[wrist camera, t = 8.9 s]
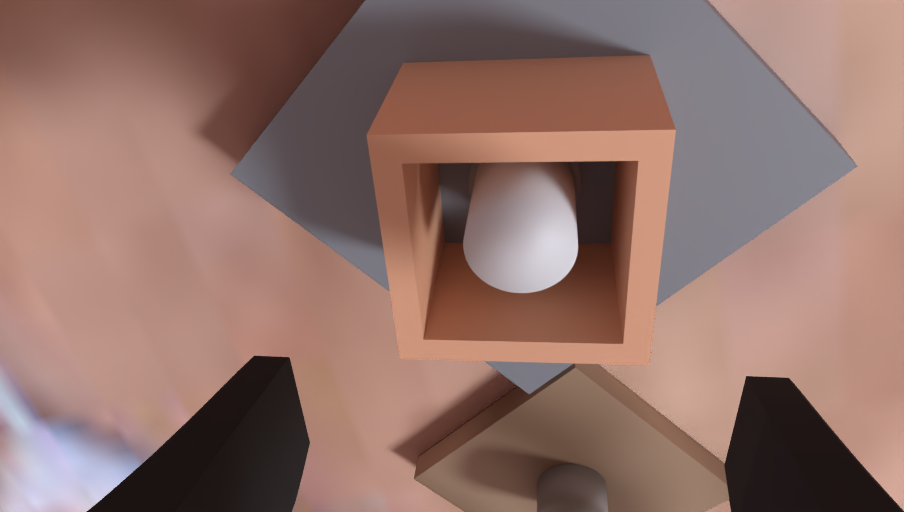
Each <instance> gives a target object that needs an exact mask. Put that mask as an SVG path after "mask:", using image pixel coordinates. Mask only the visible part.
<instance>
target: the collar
mask: <svg viewBox="0 0 904 512" xmlns="http://www.w3.org/2000/svg"><path fill="white" fill-rule="evenodd" d="M675 134H676V128H675V125H674V123H673V120H672V117H671V114H670V111H669V108H668V105H667V102H666V99H665V96H664V94H663V91H662V88H661V85H660V82H659V79H658V76H657V73H656V70H655V68H654V65H653V62H652V59H651V56H650V55H637V56H605V57H573V58H541V59H510V60H478V61H446V62H414V63H403V64H402V66H401V68H400V70H399V72H398V74H397V76H396V78H395V80H394V82H393V84H392V86H391V88H390V90H389V92H388V94H387V96H386V98H385V100H384V102H383V104H382V106H381V108H380V109H379V111H378V113H377V115H376V117H375V119H374V121H373V123H372V125H371V127H370V129H369V131H368V133H367V142H368V148H369V155H370V162H371V168H372V175H373V182H374V189H375V195H376V202H377V209H378V215H379V222H380V229H381V235H382V242H383V249H384V255H385V262H386V269H387V276H388V282H389V289H390V296H391V302H392V309H393V316H394V322H395V329H396V336H397V342H398V349H399V356H400V359H423V360H461V361H500V362H538V363H577V364H615V365H650V356H651V347H652V338H653V329H654V320H655V311H656V303H657V294H658V285H659V276H660V267H661V258H662V249H663V240H664V231H665V223H666V214H667V205H668V196H669V187H670V178H671V169H672V160H673V151H674V143H675ZM575 161H616V168H615V184H614V199H613V215H612V231H611V243H578V254H577V257H576V261H575V263H574V265H573V267H572V268H571V270H570V272H569V273H568V274H567V275H566V276H565V277H564V278H563V279H562V280H561V281H559V282H558V283H556V284H555V285H553V286H551V287H549V288H547V289H544V290H541V291H537V292H531V293H512V292H507V291H503V290H500V289H497V288H495V287H492V286H491V285H489V284H487V283H486V282H484V281H483V280H481V279H480V278H479V277H478V276H477V275H476V274H475V273H474V272H473V271H472V269H471V268H470V266H469V264H468V262H467V260H466V258H465V254H464V249H463V243H445V237H444V226H443V215H442V204H441V193H440V182H439V171H438V163H491V162H575Z"/></svg>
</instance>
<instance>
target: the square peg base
mask: <svg viewBox="0 0 904 512" xmlns="http://www.w3.org/2000/svg"><path fill="white" fill-rule="evenodd" d="M637 55H650V56H651V59H652V62H653V65H654V68H655V70H656V73H657V76H658V79H659V82H660V85H661V88H662V91H663V94H664V96H665V99H666V102H667V105H668V108H669V111H670V114H671V117H672V120H673V123H674V125H675V128H676V134H675V143H674V151H673V160H672V169H671V178H670V187H669V196H668V205H667V214H666V223H665V231H664V240H663V249H662V258H661V267H660V276H659V285H658V294H657V303H656V306H657V305H659V304H660V303H661V302H663V301H664V300H666V299H667V298H669V297H670V296H672V295H673V294H674V293H676V292H677V291H679V290H680V289H682V288H683V287H685V286H686V285H687V284H689V283H690V282H692V281H693V280H695V279H696V278H697V277H699V276H700V275H702V274H703V273H705V272H706V271H708V270H709V269H710V268H712V267H713V266H715V265H716V264H718V263H719V262H721V261H722V260H723V259H725V258H726V257H728V256H729V255H731V254H732V253H733V252H735V251H736V250H738V249H739V248H741V247H742V246H744V245H745V244H746V243H748V242H749V241H751V240H752V239H754V238H755V237H757V236H758V235H759V234H761V233H762V232H764V231H765V230H767V229H768V228H769V227H771V226H772V225H774V224H775V223H777V222H778V221H780V220H781V219H782V218H784V217H785V216H787V215H788V214H790V213H791V212H793V211H794V210H795V209H797V208H798V207H800V206H801V205H803V204H804V203H805V202H807V201H808V200H810V199H811V198H813V197H814V196H816V195H817V194H818V193H820V192H821V191H823V190H824V189H826V188H827V187H829V186H830V185H831V184H833V183H834V182H836V181H837V180H839V179H840V178H841V177H843V176H844V175H846V174H847V173H849V172H850V171H852V170H853V169H854V168H856V167H857V165H856V164H855V162H854V161H853V160H852V158H851V157H850V156H849V155H848V153H847V152H846V151H845V149H844V148H843V147H842V146H841V144H840V143H839V142H838V140H837V139H836V138H835V137H834V136H833V135H832V134H831V133H830V132H829V130H828V129H827V128H826V127H825V126H824V125H823V124H822V123H821V122H820V121H819V120H818V119H817V118H816V116H815V115H814V114H813V113H812V112H811V111H810V110H809V109H808V108H807V107H806V106H805V105H804V104H803V102H802V101H801V100H800V99H799V98H798V97H797V96H796V95H795V94H794V93H793V92H792V91H791V90H790V88H789V87H788V86H787V85H786V84H785V83H784V82H783V81H782V80H781V79H780V78H779V77H778V76H777V74H776V73H775V72H774V71H773V70H772V69H771V68H770V67H769V66H768V65H767V64H766V63H765V62H764V60H763V59H762V58H761V57H760V56H759V55H758V54H757V53H756V52H755V51H754V50H753V49H752V48H751V46H750V45H749V44H748V43H747V42H746V41H745V40H744V39H743V38H742V37H741V36H740V35H739V34H738V32H737V31H736V30H735V29H734V28H733V27H732V26H731V25H730V24H729V23H728V22H727V21H726V20H725V18H724V17H723V16H722V15H721V14H720V13H719V12H718V11H717V10H716V9H715V8H714V7H713V6H712V4H711V3H710V2H709V1H708V0H365V1H364V2H363V4H362V5H361V6H360V8H359V9H358V10H357V11H356V13H355V14H354V15H353V17H352V18H351V19H350V20H349V22H348V23H347V24H346V26H345V27H344V28H343V29H342V31H341V32H340V33H339V35H338V36H337V37H336V38H335V40H334V41H333V42H332V44H331V45H330V46H329V48H328V49H327V50H326V51H325V53H324V54H323V55H322V57H321V58H320V59H319V60H318V62H317V63H316V64H315V66H314V67H313V68H312V69H311V71H310V72H309V73H308V75H307V76H306V77H305V78H304V80H303V81H302V82H301V84H300V85H299V86H298V87H297V89H296V90H295V91H294V93H293V94H292V95H291V96H290V98H289V99H288V100H287V102H286V103H285V104H284V105H283V107H282V108H281V109H280V111H279V112H278V113H277V115H276V116H275V117H274V118H273V120H272V121H271V122H270V124H269V125H268V126H267V127H266V129H265V130H264V131H263V133H262V134H261V135H260V136H259V138H258V139H257V140H256V142H255V143H254V144H253V145H252V147H251V148H250V149H249V151H248V152H247V153H246V154H245V156H244V157H243V158H242V160H241V161H240V162H239V163H238V165H237V166H236V167H235V169H234V170H233V171H232V172H231V175H232V176H234V177H235V178H236V179H238V180H239V181H240V182H242V183H243V184H244V185H246V186H247V187H249V188H250V189H251V190H253V191H254V192H255V193H257V194H258V195H259V196H261V197H262V198H263V199H265V200H266V201H268V202H269V203H270V204H272V205H273V206H274V207H276V208H277V209H278V210H280V211H281V212H282V213H284V214H285V215H287V216H288V217H289V218H291V219H292V220H293V221H295V222H296V223H297V224H299V225H300V226H301V227H303V228H304V229H306V230H307V231H308V232H310V233H311V234H312V235H314V236H315V237H316V238H318V239H319V240H320V241H322V242H323V243H325V244H326V245H327V246H329V247H330V248H331V249H333V250H334V251H335V252H337V253H338V254H339V255H341V256H342V257H344V258H345V259H346V260H348V261H349V262H350V263H352V264H353V265H354V266H356V267H357V268H358V269H360V270H361V271H362V272H364V273H365V274H367V275H368V276H369V277H371V278H372V279H373V280H375V281H376V282H377V283H379V284H380V285H381V286H383V287H384V288H386V289H387V290H388V291H390V289H389V282H388V276H387V269H386V262H385V255H384V249H383V242H382V235H381V229H380V222H379V215H378V209H377V202H376V195H375V189H374V182H373V175H372V168H371V162H370V155H369V148H368V142H367V133H368V131H369V129H370V127H371V125H372V123H373V121H374V119H375V117H376V115H377V113H378V111H379V109H380V108H381V106H382V104H383V102H384V100H385V98H386V96H387V94H388V92H389V90H390V88H391V86H392V84H393V82H394V80H395V78H396V76H397V74H398V72H399V70H400V68H401V66H402V64H403V63H414V62H446V61H478V60H510V59H541V58H573V57H605V56H637ZM615 168H616V161H575V162H491V163H438V171H439V182H440V193H441V204H442V215H443V226H444V237H445V243H463V249H464V254H465V258H466V260H467V262H468V264H469V266H470V268H471V269H472V271H473V272H474V273H475V274H476V275H477V276H478V277H479V278H480V279H481V280H483V281H484V282H486V283H487V284H489V285H491V286H492V287H495V288H497V289H500V290H503V291H507V292H512V293H531V292H537V291H541V290H544V289H547V288H549V287H551V286H553V285H555V284H556V283H558V282H559V281H561V280H562V279H563V278H564V277H565V276H566V275H567V274H568V273H569V272H570V270H571V268H572V267H573V265H574V263H575V261H576V257H577V254H578V243H611V231H612V215H613V199H614V184H615ZM485 362H486V363H487V364H489V365H490V366H491V367H493V368H494V369H495V370H497V371H498V372H500V373H501V374H502V375H504V376H505V377H506V378H508V379H509V380H510V381H512V382H513V383H514V384H516V385H517V386H519V387H520V388H521V389H523V390H524V391H525V392H527V393H528V394H530V393H532V392H533V391H535V390H536V389H538V388H539V387H540V386H542V385H543V384H545V383H546V382H548V381H549V380H551V379H552V378H553V377H555V376H556V375H558V374H559V373H561V372H562V371H564V370H565V369H566V368H568V367H569V366H571V365H572V364H574V363H538V362H500V361H485Z"/></svg>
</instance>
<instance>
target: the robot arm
mask: <svg viewBox="0 0 904 512" xmlns="http://www.w3.org/2000/svg"><path fill="white" fill-rule="evenodd" d="M309 444H310V441H309V437H308V433H307V429H306V425H305V420H304V416H303V412H302V408H301V404H300V400H299V395H298V391H297V387H296V383H295V379H294V374H293V370H292V366H291V362H290V358H289V357H269V356H254V357H253V358H251V359H250V360H249V361H248V362H247V363H246V364H245V365H244V366H243V367H242V368H241V369H240V370H239V371H238V372H237V373H236V374H235V375H234V376H233V377H232V378H231V379H230V380H229V381H228V382H227V383H226V384H225V385H224V386H223V387H222V388H221V389H220V390H219V391H218V392H217V393H216V394H215V395H214V396H213V397H212V398H211V399H210V400H209V401H208V402H207V403H206V404H205V405H204V406H203V407H202V408H201V409H200V410H199V411H198V412H197V413H196V414H195V415H194V416H193V417H192V418H191V419H189V420H188V421H187V422H186V423H185V424H184V425H183V426H182V427H181V428H180V429H179V430H178V431H177V432H176V433H175V434H174V435H173V436H172V437H171V438H170V439H169V440H167V441H166V442H165V443H164V444H163V445H162V446H161V447H160V448H159V449H158V450H157V451H156V452H155V453H154V454H153V455H152V456H151V457H149V458H148V459H147V460H146V461H145V462H144V463H143V464H142V465H140V466H139V467H138V468H137V469H136V470H135V471H134V472H133V473H131V474H130V475H129V476H128V477H127V478H126V479H125V480H123V481H122V482H121V483H120V484H119V485H118V486H117V487H115V488H114V489H113V490H112V491H111V492H110V493H109V494H108V495H106V496H105V497H104V498H103V499H102V500H100V501H99V502H98V503H97V504H96V505H94V506H93V507H92V508H91V509H90V510H88V511H87V512H292V509H293V506H294V504H295V501H296V497H297V493H298V489H299V486H300V482H301V478H302V474H303V470H304V465H305V461H306V457H307V453H308V448H309ZM724 467H725V474H726V481H727V487H728V494H729V501H730V507H731V512H904V511H903V510H902V509H901V508H900V507H899V505H898V504H897V503H896V502H895V501H894V500H893V499H892V498H891V497H890V496H889V494H888V493H887V492H886V491H885V490H884V489H883V488H882V487H881V486H880V484H879V483H878V482H877V481H876V480H875V479H874V478H873V477H872V476H871V474H870V473H869V472H868V471H867V470H866V469H865V468H864V467H863V465H862V464H861V463H860V462H859V461H858V460H857V459H856V457H855V456H854V455H853V454H852V453H851V452H850V450H849V449H848V448H847V447H846V446H845V444H844V443H843V442H842V441H841V440H840V439H839V437H838V436H837V435H836V434H835V433H834V431H833V430H832V429H831V428H830V427H829V425H828V424H827V423H826V422H825V421H824V419H823V418H822V417H821V416H820V415H819V413H818V412H817V411H816V410H815V408H814V407H813V406H812V405H811V404H810V402H809V401H808V400H807V399H806V397H805V396H804V395H803V394H802V393H801V391H800V390H799V389H798V388H797V387H796V385H795V384H794V383H793V382H792V381H791V380H790V379H789V378H776V377H752V376H746V380H745V384H744V388H743V392H742V396H741V400H740V404H739V408H738V413H737V417H736V421H735V425H734V429H733V433H732V437H731V441H730V445H729V449H728V453H727V457H726V462H725V466H724Z"/></svg>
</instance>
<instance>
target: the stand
mask: <svg viewBox="0 0 904 512" xmlns="http://www.w3.org/2000/svg"><path fill="white" fill-rule="evenodd" d="M724 466H725V464H724V463H723V462H722V461H720V460H719V459H718V458H716V457H715V456H714V455H713V454H711V453H710V452H709V451H708V450H706V449H705V448H704V447H702V446H701V445H700V444H699V443H697V442H696V441H695V440H694V439H692V438H691V437H690V436H688V435H687V434H686V433H685V432H683V431H682V430H681V429H680V428H678V427H677V426H676V425H674V424H673V423H672V422H671V421H669V420H668V419H667V418H666V417H664V416H663V415H662V414H660V413H659V412H658V411H657V410H655V409H654V408H653V407H652V406H650V405H649V404H648V403H646V402H645V401H644V400H643V399H641V398H640V397H639V396H638V395H636V394H635V393H634V392H632V391H631V390H630V389H629V388H627V387H626V386H625V385H624V384H622V383H621V382H620V381H618V380H617V379H616V378H615V377H613V376H612V375H611V374H610V373H608V372H607V371H606V370H604V369H603V368H602V367H601V366H599V365H598V364H577V363H574V364H572V365H571V366H569V367H568V368H566V369H565V370H564V371H562V372H561V373H559V374H558V375H556V376H555V377H553V378H552V379H551V380H549V381H548V382H546V383H545V384H543V385H542V386H540V387H539V388H538V389H536V390H535V391H533V392H532V393H530V394H528V393H527V392H525V391H524V390H523V389H521V388H520V387H519V386H518V387H516V388H515V389H513V390H512V391H511V392H509V393H508V394H506V395H505V396H503V397H502V398H501V399H499V400H498V401H496V402H495V403H494V404H492V405H491V406H489V407H488V408H487V409H485V410H484V411H482V412H481V413H480V414H478V415H477V416H475V417H474V418H473V419H471V420H470V421H468V422H467V423H465V424H464V425H463V426H461V427H460V428H458V429H457V430H456V431H454V432H453V433H451V434H450V435H449V436H447V437H446V438H444V439H443V440H442V441H440V442H439V443H437V444H436V445H434V446H433V447H432V448H430V449H429V450H427V451H426V452H425V453H423V454H422V455H420V456H419V457H418V460H417V466H416V471H415V476H414V479H415V480H416V481H418V482H419V483H421V484H423V485H424V486H426V487H427V488H429V489H430V490H432V491H433V492H435V493H437V494H438V495H440V496H441V497H443V498H444V499H446V500H447V501H449V502H451V503H452V504H454V505H455V506H457V507H458V508H460V509H461V510H463V511H464V512H705V511H707V510H709V509H711V508H713V507H715V506H717V505H719V504H721V503H723V502H725V501H727V500H729V494H728V487H727V481H726V474H725V467H724Z"/></svg>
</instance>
